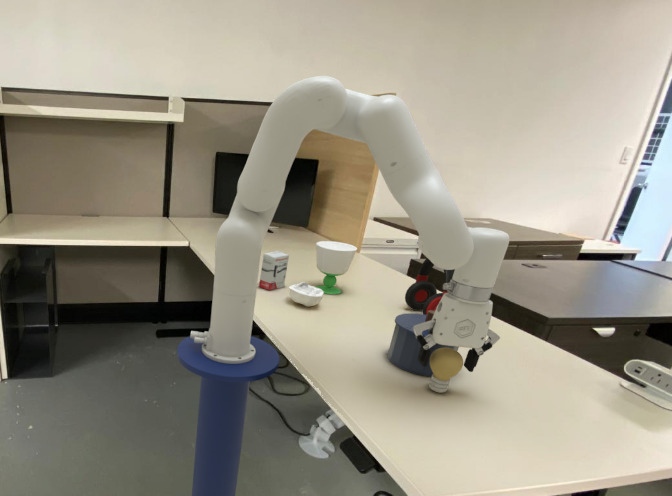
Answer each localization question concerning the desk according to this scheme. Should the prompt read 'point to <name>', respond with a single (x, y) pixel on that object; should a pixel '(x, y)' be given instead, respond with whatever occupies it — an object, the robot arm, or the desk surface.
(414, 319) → the pot lid
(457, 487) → the desk surface
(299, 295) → the cell model
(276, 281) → the ink box
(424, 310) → the headphones
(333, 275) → the cup
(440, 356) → the light bulb
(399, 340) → the pot
